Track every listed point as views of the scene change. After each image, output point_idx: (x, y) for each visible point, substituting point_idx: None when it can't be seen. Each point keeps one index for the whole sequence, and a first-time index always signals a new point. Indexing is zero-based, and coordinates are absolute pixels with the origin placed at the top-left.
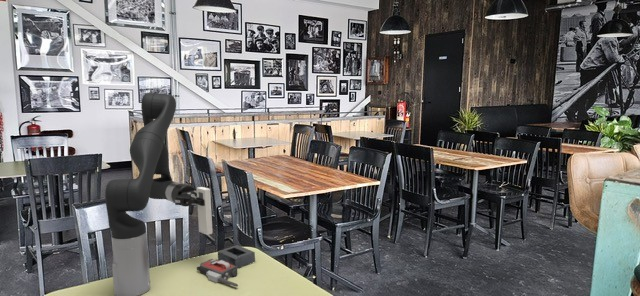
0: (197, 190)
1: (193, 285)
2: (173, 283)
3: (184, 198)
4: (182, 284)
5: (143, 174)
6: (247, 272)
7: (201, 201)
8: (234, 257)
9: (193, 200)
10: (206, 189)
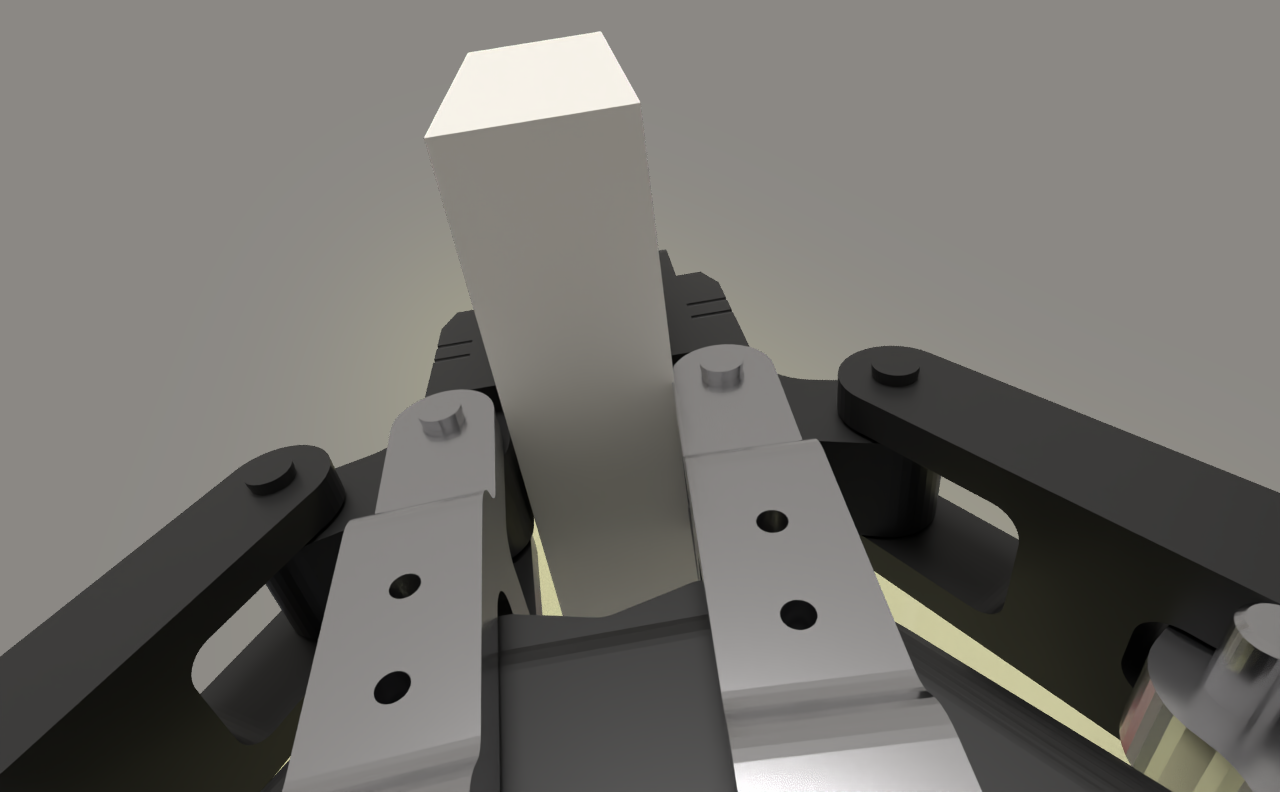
0: (646, 173)
1: (908, 610)
2: (1057, 714)
3: (1064, 412)
4: (984, 662)
5: None
6: (546, 593)
7: (686, 286)
8: None
9: (799, 397)
10: (549, 42)
